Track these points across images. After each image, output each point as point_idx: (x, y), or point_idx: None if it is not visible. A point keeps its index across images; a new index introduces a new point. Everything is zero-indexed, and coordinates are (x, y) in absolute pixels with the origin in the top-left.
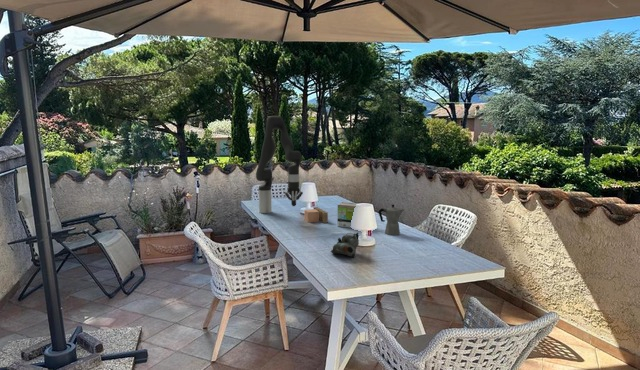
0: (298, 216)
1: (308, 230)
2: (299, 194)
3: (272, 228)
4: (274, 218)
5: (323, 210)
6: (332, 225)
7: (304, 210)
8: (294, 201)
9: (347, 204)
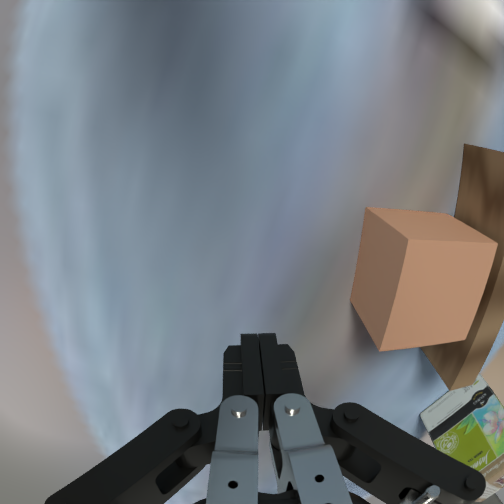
0: (365, 55)
1: (259, 445)
2: (398, 495)
3: (68, 359)
4: (114, 50)
5: (501, 321)
6: (417, 395)
7: (406, 241)
8: (266, 422)
9: (486, 491)
